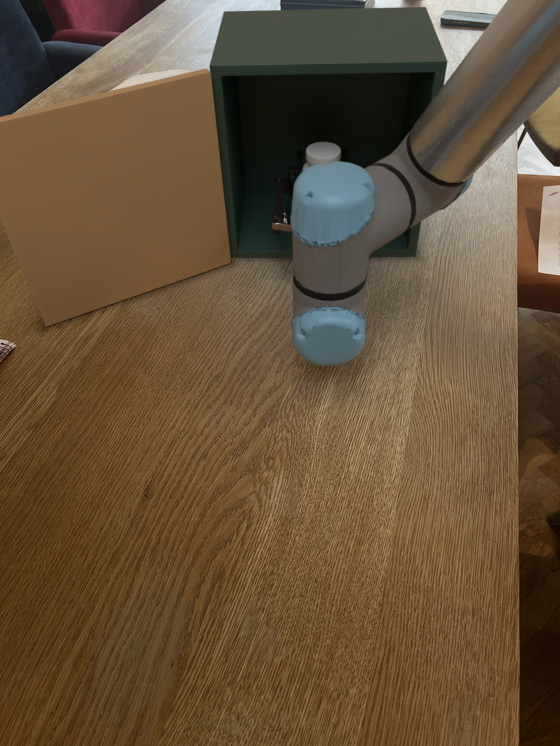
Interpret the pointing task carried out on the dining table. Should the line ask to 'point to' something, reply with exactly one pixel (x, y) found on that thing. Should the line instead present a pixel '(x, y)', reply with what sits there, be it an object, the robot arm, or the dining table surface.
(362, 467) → the dining table surface
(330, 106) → the cupboard
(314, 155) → the pill bottle
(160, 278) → the cupboard door
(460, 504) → the dining table surface
